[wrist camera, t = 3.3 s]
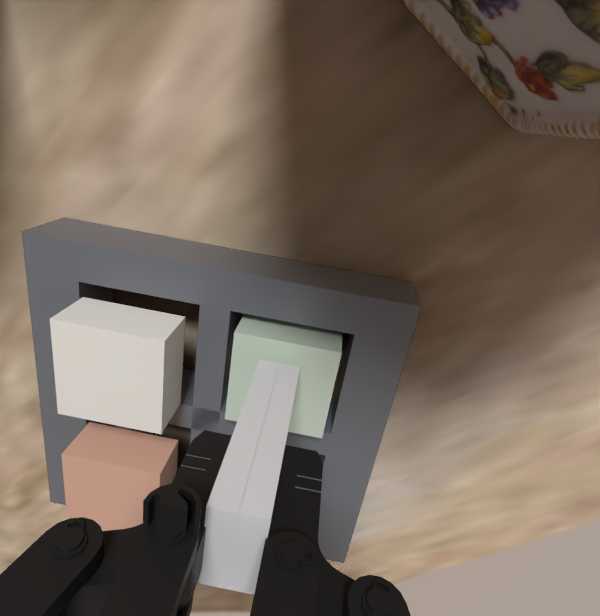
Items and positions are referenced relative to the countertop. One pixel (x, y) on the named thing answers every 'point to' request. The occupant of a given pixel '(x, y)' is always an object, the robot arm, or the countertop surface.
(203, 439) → the robot arm
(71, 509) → the terracotta key
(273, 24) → the countertop surface
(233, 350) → the sage key
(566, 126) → the decorative jar
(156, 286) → the keypad
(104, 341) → the cream key
